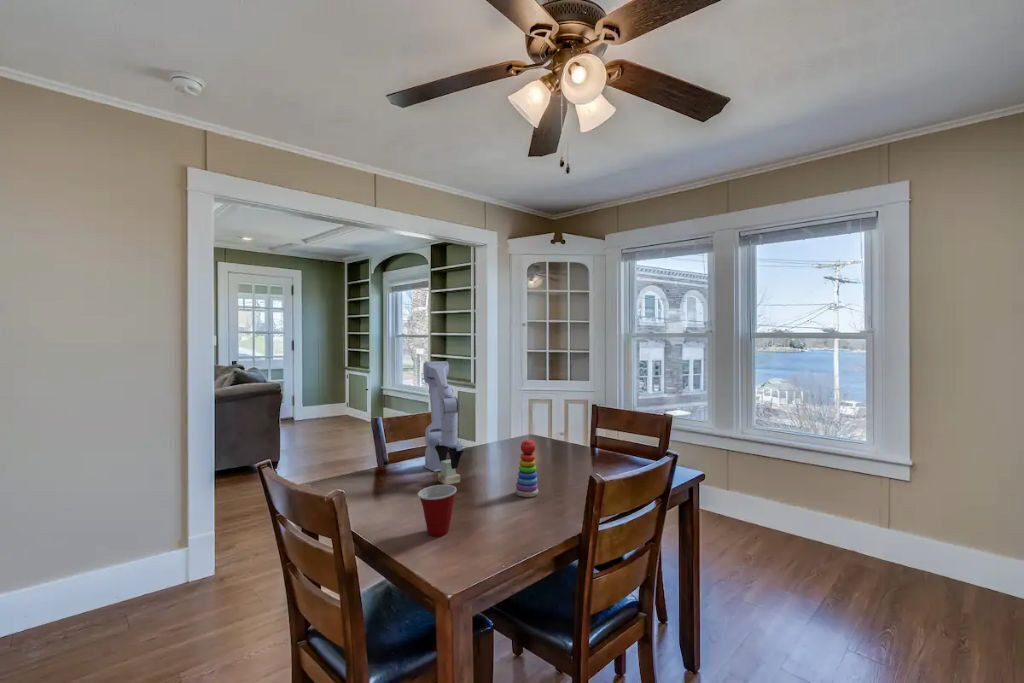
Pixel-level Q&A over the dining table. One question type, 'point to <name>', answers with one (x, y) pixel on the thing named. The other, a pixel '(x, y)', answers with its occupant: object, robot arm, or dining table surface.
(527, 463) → the stacking toy
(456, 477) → the maple base
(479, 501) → the dining table surface
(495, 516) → the dining table surface
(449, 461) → the sage block
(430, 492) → the plastic cup
